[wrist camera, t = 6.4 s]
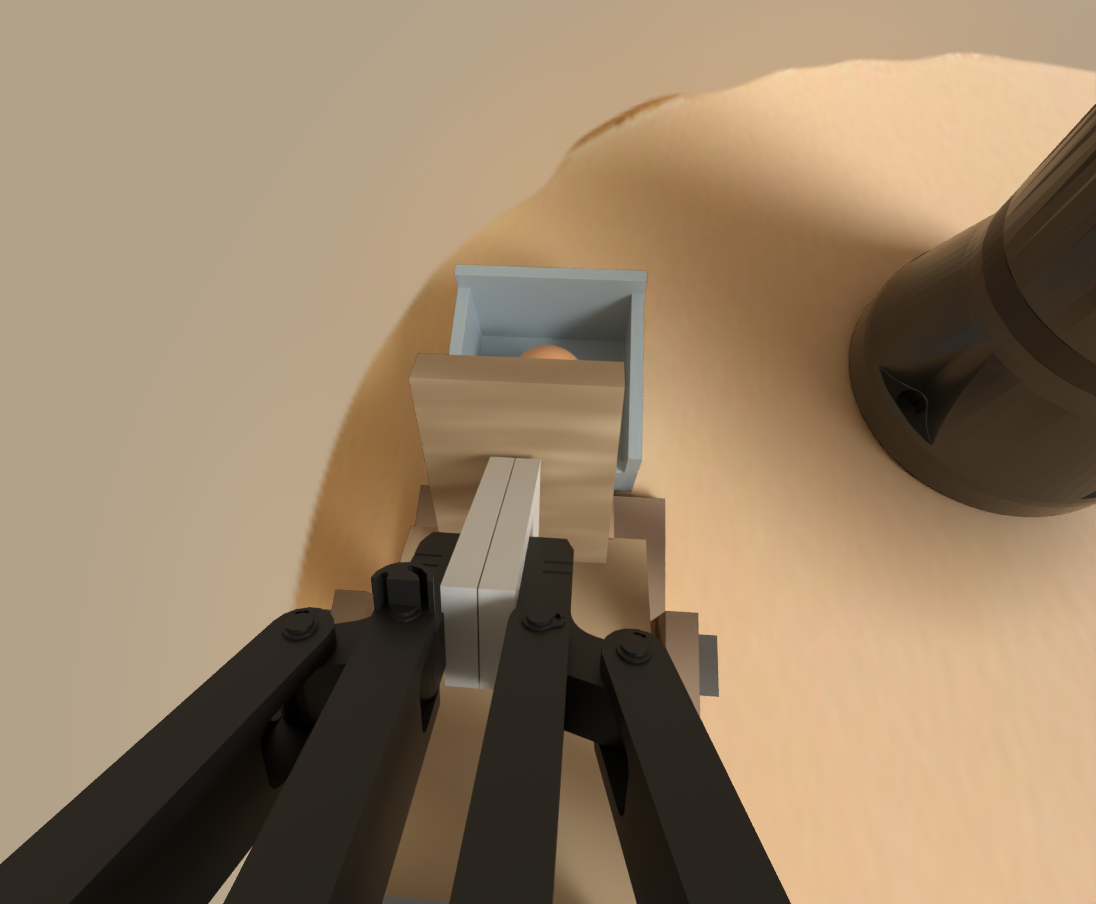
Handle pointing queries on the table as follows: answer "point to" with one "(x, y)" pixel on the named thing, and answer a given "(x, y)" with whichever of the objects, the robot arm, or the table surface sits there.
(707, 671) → the catapult stand
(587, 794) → the lever
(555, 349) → the ball
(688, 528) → the table surface
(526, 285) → the blue open box
